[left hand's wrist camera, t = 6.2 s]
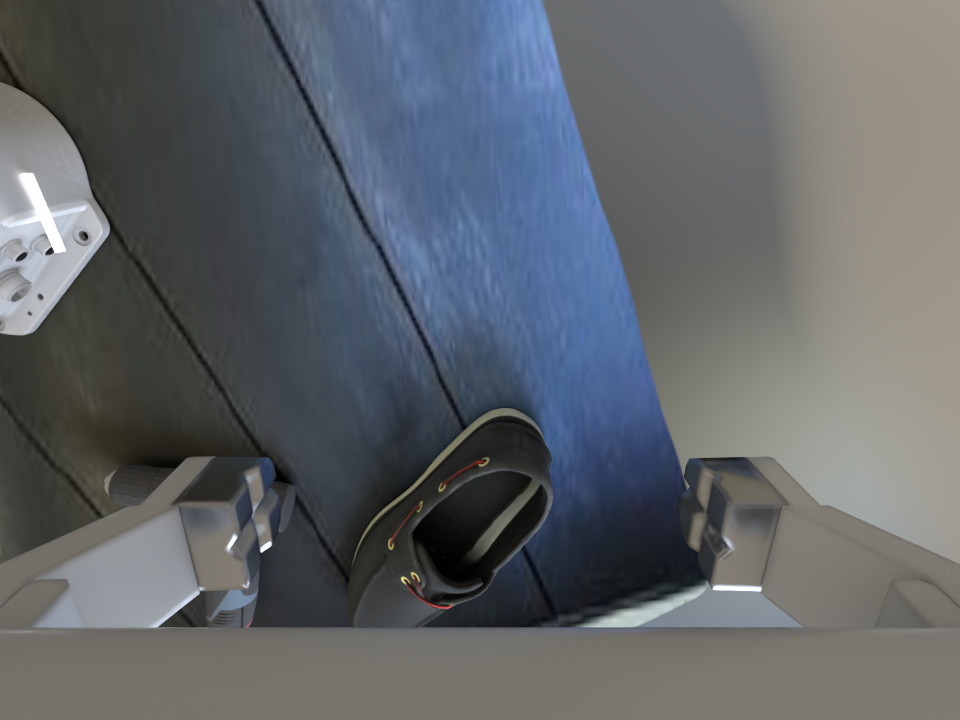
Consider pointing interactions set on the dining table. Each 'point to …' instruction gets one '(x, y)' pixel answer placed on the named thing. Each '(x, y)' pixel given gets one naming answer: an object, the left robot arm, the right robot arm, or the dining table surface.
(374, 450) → the dining table surface
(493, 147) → the dining table surface
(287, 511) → the power drill
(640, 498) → the dining table surface
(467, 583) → the boat shoe
